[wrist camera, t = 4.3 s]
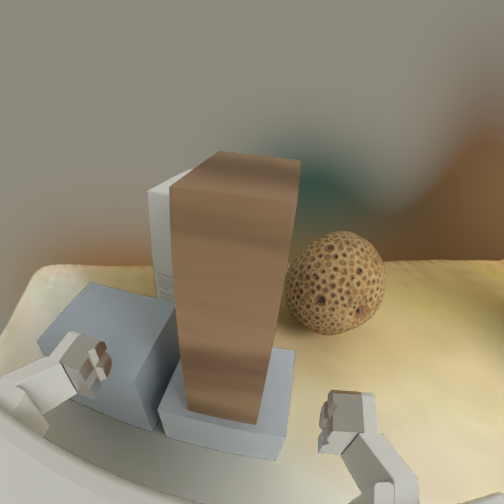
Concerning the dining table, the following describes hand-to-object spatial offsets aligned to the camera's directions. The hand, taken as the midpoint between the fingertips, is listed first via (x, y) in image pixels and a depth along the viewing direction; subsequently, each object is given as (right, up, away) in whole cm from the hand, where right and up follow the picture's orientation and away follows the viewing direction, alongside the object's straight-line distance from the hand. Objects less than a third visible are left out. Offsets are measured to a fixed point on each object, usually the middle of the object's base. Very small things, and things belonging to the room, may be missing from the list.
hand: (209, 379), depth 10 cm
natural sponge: (+8, -3, +19) cm, 21 cm away
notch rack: (-4, -7, +11) cm, 13 cm away
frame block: (0, -4, +8) cm, 9 cm away
